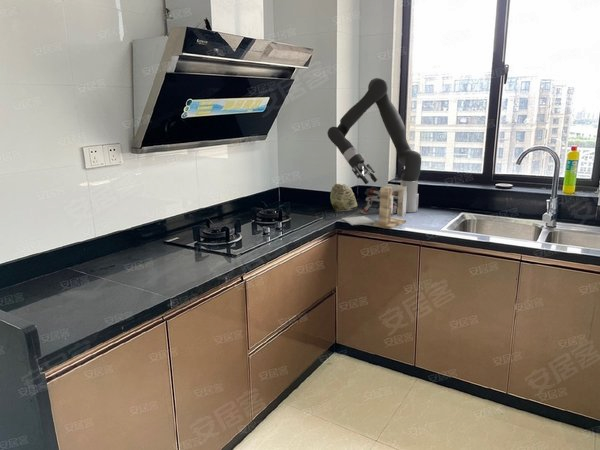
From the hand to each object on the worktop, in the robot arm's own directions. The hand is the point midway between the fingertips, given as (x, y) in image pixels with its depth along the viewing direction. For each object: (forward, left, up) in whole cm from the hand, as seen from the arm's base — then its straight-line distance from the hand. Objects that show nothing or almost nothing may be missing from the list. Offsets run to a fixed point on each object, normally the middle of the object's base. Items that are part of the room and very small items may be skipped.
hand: (371, 182), depth 227 cm
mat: (+9, +4, -19) cm, 21 cm away
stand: (-3, +14, -19) cm, 24 cm away
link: (-7, +12, -15) cm, 20 cm away
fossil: (+5, -23, -19) cm, 31 cm away
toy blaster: (-10, -7, -19) cm, 23 cm away
